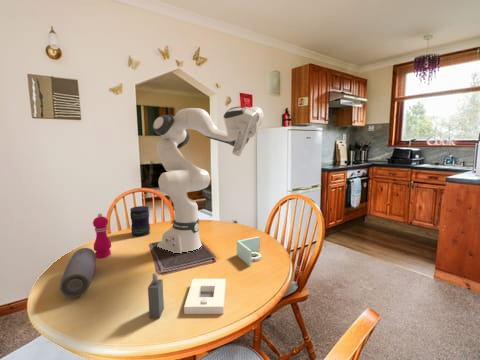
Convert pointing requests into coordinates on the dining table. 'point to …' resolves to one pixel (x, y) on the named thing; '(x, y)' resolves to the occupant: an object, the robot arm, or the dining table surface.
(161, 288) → the grey bottle
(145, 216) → the storage jar
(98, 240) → the pepper mill
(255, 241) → the right angle wall
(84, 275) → the bluetooth speaker
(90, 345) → the dining table surface
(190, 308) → the socket plate
